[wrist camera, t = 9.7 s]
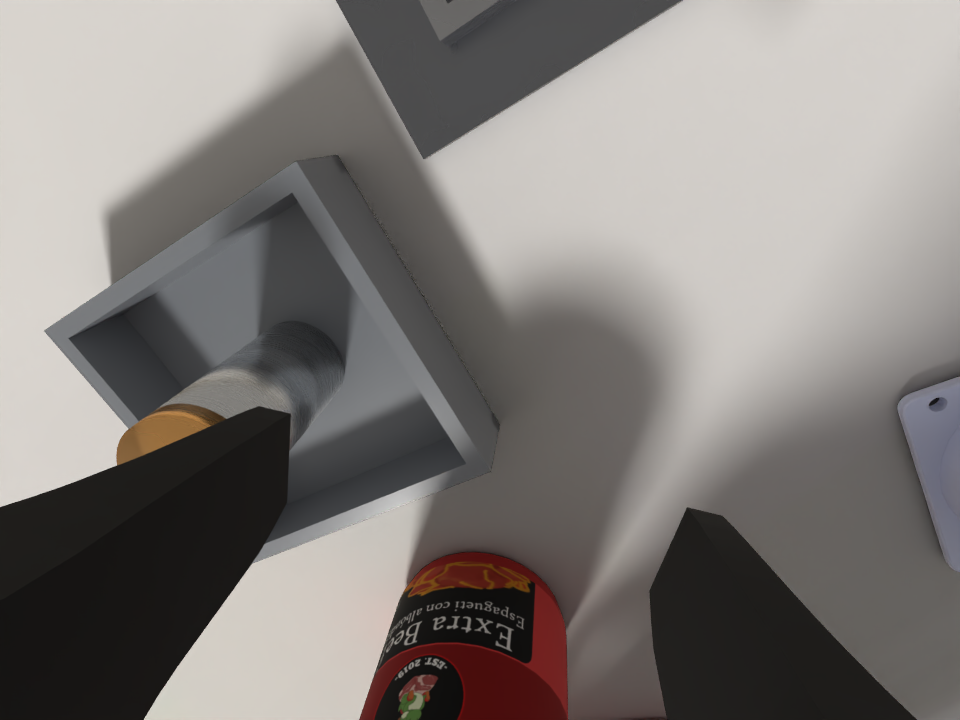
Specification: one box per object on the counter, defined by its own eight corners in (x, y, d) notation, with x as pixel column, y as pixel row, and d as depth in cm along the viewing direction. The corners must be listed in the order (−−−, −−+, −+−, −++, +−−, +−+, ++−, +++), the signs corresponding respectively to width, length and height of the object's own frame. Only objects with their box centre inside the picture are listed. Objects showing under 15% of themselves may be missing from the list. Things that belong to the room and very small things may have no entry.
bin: (337, 154, 17) (295, 160, 14) (499, 424, 20) (490, 471, 18) (111, 302, 20) (44, 330, 18) (282, 514, 24) (246, 565, 21)
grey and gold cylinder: (360, 357, 19) (265, 471, 13) (319, 420, 21) (214, 551, 14) (279, 303, 19) (140, 393, 13) (242, 371, 20) (100, 484, 14)
